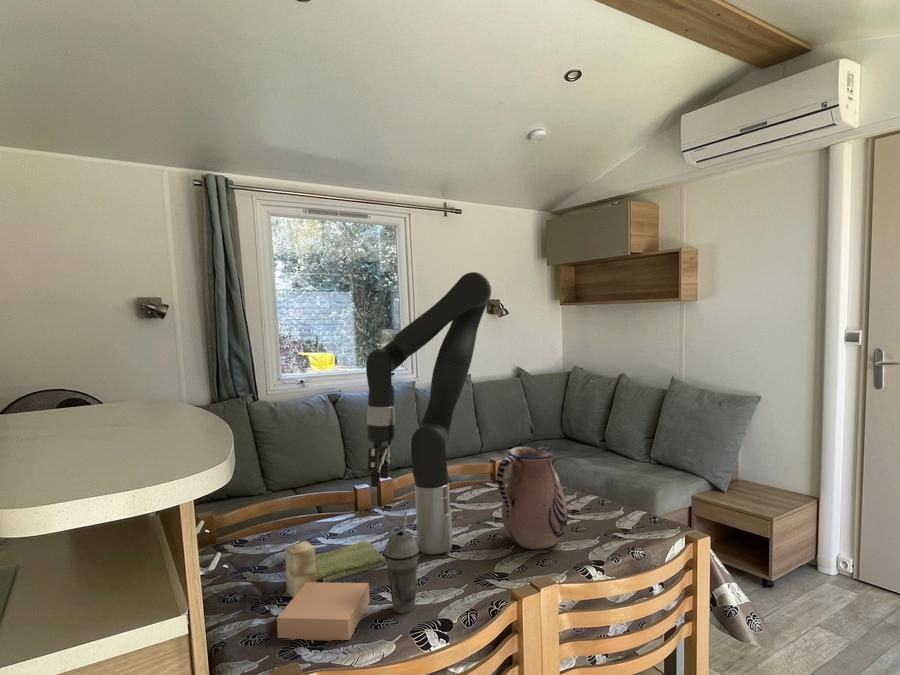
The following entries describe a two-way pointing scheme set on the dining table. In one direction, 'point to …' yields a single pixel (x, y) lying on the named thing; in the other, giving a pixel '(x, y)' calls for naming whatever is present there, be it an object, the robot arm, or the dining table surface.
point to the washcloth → (347, 561)
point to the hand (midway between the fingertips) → (379, 482)
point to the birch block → (299, 566)
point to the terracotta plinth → (324, 611)
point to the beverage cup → (402, 569)
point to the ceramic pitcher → (532, 498)
